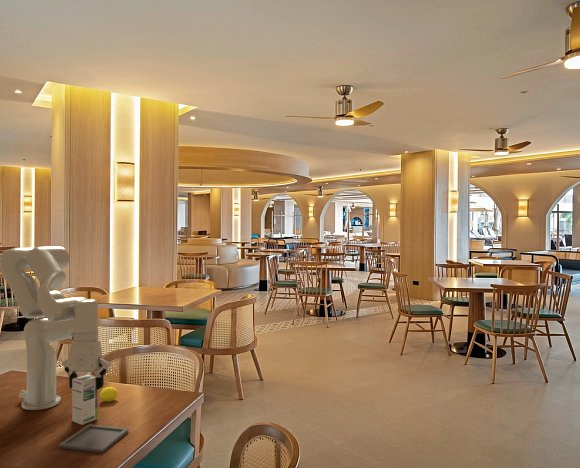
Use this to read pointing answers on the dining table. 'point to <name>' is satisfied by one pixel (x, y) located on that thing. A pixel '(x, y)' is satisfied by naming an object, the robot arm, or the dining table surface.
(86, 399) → the syrup box
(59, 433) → the dining table surface
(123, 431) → the slate tray
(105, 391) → the lemon
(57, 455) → the dining table surface
